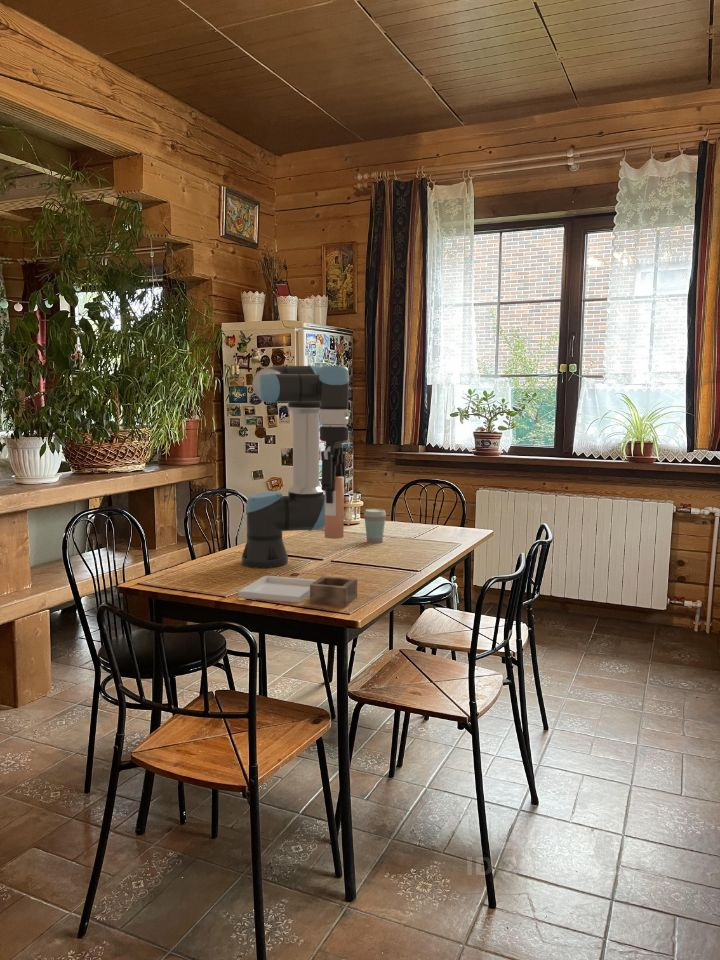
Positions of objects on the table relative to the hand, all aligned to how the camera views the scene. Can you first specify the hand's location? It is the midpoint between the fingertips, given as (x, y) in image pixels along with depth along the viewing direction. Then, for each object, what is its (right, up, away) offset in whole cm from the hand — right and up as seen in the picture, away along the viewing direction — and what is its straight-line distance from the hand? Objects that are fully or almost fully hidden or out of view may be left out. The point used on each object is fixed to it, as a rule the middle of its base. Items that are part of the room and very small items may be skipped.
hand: (334, 513), depth 196 cm
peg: (0, -6, +1) cm, 6 cm away
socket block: (0, -24, +3) cm, 25 cm away
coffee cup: (+13, -15, +84) cm, 86 cm away
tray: (-15, -23, +12) cm, 30 cm away
